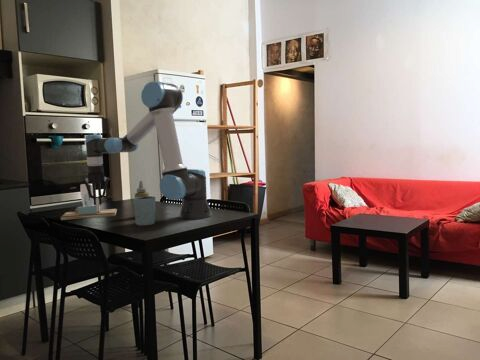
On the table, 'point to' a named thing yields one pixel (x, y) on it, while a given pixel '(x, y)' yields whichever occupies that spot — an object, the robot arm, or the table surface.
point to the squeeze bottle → (141, 191)
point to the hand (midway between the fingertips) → (98, 211)
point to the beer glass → (86, 195)
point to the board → (99, 214)
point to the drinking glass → (144, 210)
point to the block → (87, 210)
